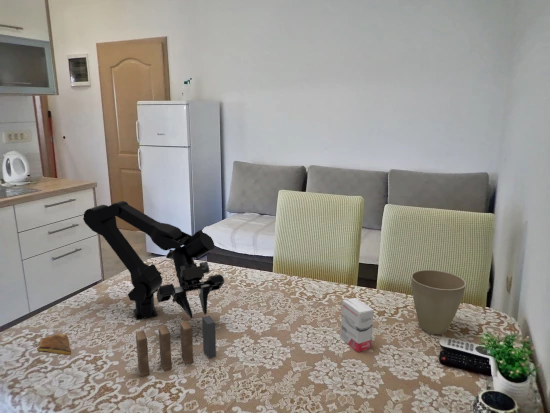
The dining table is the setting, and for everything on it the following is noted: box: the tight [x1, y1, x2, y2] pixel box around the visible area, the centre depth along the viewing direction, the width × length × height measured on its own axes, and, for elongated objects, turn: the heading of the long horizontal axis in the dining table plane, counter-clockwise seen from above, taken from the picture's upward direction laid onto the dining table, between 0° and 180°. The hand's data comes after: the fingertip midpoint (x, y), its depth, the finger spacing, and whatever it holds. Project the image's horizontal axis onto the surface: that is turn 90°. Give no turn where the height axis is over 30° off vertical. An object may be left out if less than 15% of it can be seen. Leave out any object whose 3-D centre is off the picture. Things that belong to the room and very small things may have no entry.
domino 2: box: [158, 324, 173, 371], centre depth 102 cm, size 2×4×10 cm, turn 27°
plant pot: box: [410, 269, 467, 335], centre depth 120 cm, size 15×15×16 cm
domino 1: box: [135, 329, 150, 378], centre depth 99 cm, size 2×4×10 cm, turn 27°
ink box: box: [340, 297, 374, 353], centre depth 112 cm, size 8×5×12 cm, turn 26°
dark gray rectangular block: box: [201, 315, 217, 359], centre depth 107 cm, size 2×4×10 cm, turn 31°
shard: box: [36, 333, 72, 355], centre depth 109 cm, size 11×8×2 cm
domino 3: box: [179, 320, 194, 365], centre depth 104 cm, size 2×4×10 cm, turn 27°
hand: (198, 316), depth 112 cm, fingers open, 4 cm apart
